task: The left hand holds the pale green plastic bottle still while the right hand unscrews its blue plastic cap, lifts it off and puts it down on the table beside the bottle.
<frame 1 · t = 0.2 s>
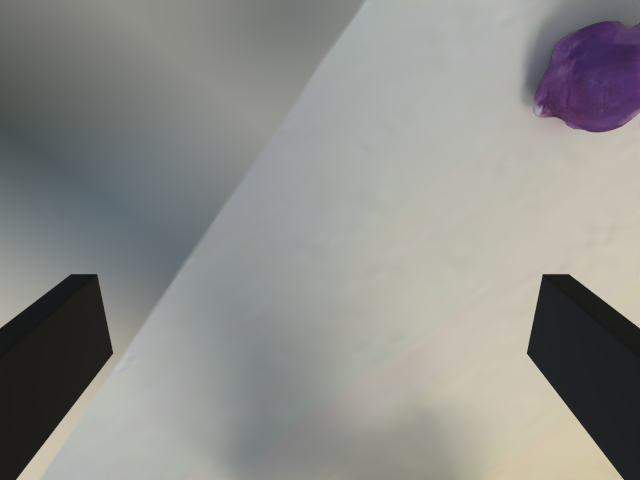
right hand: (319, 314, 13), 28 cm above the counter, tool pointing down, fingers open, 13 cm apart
figurine: (591, 67, 36), on the counter
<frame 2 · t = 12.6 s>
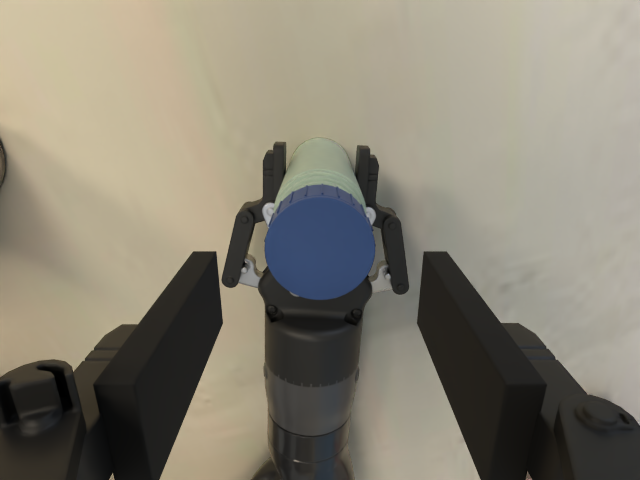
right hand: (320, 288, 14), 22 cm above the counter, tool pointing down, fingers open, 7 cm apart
left hand: (322, 146, 28), fingers closed on bottle, 5 cm apart
bottle: (319, 167, 35), on the counter, touching left hand
cap: (319, 248, 18), point 18 cm above the counter, screwed on, not yet turned
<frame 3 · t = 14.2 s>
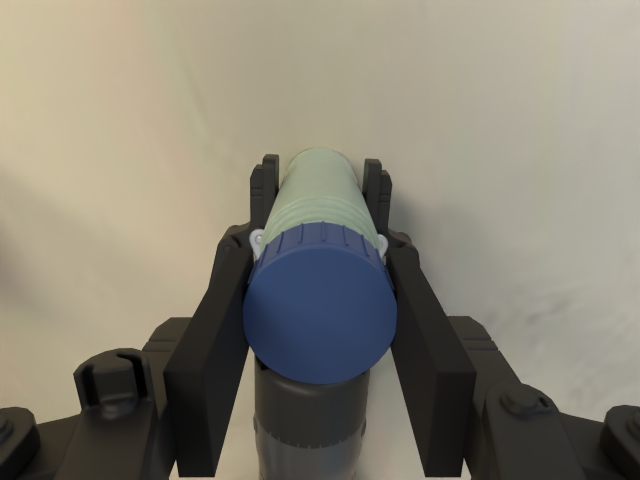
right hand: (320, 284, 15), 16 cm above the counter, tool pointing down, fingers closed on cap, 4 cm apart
left hand: (322, 160, 23), fingers closed on bottle, 5 cm apart
bottle: (319, 182, 30), on the counter, touching left hand
cap: (319, 315, 13), point 18 cm above the counter, screwed on, not yet turned, touching right hand
when the right hand's fingers open (1 cm above the counter, at t = 31.1 s): cap drops 1 cm, point 2 cm above the counter.
when the left hand's fingers open (6 cm above the counter, at t = 32.4 s): bottle stays where it is, on the counter.
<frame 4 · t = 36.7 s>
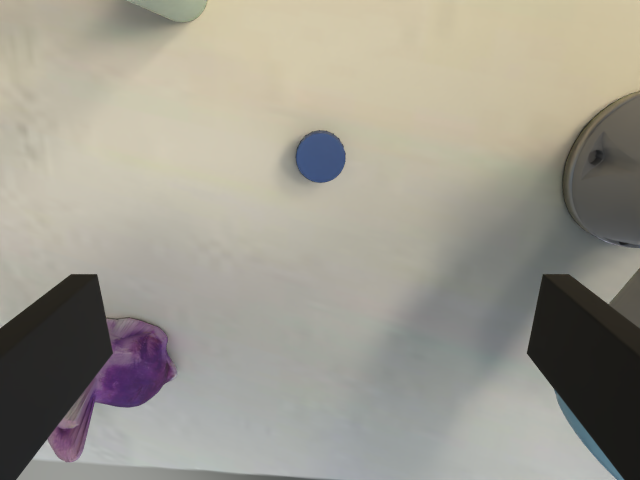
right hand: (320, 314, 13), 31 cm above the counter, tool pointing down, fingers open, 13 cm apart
figurine: (130, 345, 49), on the counter
cap: (320, 157, 39), point 2 cm above the counter, off its thread
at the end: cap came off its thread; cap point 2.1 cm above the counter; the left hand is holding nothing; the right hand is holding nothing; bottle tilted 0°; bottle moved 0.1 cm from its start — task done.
